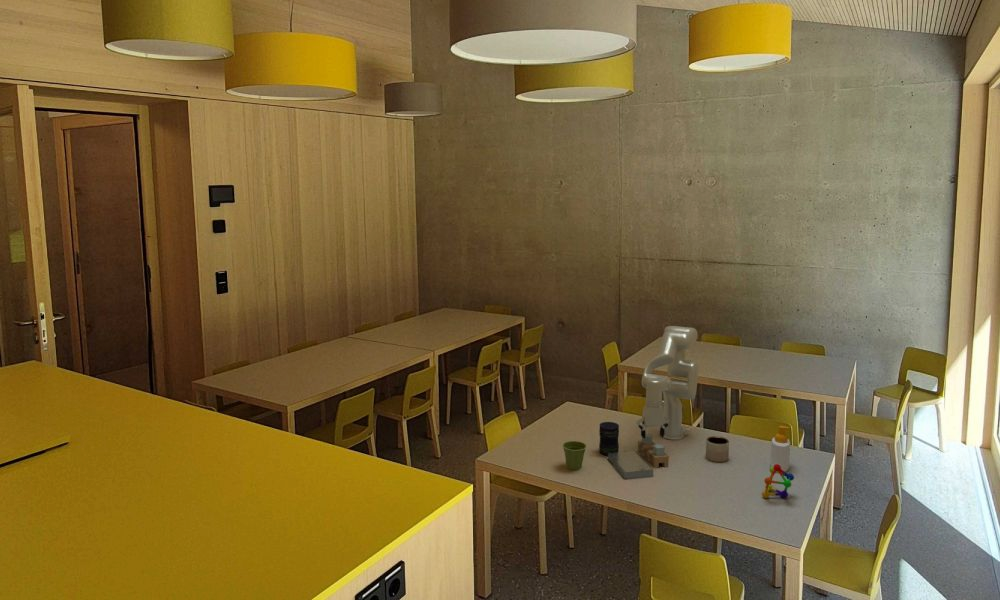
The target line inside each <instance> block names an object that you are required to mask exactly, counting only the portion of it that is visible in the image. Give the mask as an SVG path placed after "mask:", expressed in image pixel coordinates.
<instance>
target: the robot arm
mask: <svg viewBox="0 0 1000 600" xmlns="http://www.w3.org/2000/svg"><path fill="white" fill-rule="evenodd" d="M698 335H699V334H698V330H697V329H696V328H695V327H687V326H678V325H668V326H666V327H665V328H664V331H663V334H662V338H661V341H660V346H659V349H658V352H657V355H656V356H655V357H653V358H652V359H651V360H650V361H648V362H647V364H645V367H644V370H643V373H642V376H641V385H642V387H643V388H644V389H645V405H643V409H642V417H641V418H639V419H638V420H636V421H635V423H636V426H637V427H638V428H639V429H640V436H641V438H642V437H643V438H644V439H645V434H646V429H647V428H651V427H660V428H659V436H660V437H661V438H663V439H666V440H672V441H676V440H677V441H678V440H679V441H680V440H682V439H683V438H684V437H685V433H691V429H690V428H689V427H688V428H686V427H682V421H683V418H682V416H683V404H682V402H681V399H685V400H694V399H695V397H696V395H697V390H698V388H697V387H698V378H699V365H698V363H697V362H696V361H694V360H688V359H686V352H687V351H686V350H688V349H690V348H691V347H692V346H694V344H695V343H697V340H698ZM666 365H667V374H668V375H669V376H667V375H660V374H654V373H653V371H654V370H656V369H658V368H660V367H664V366H666ZM670 376H671V377H676V379H675V378H670ZM677 378H682V379H677ZM683 378H684V379H687V380H683ZM662 397H663V399H662ZM641 424H642V425H641Z"/></svg>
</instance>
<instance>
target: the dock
mask: <svg viewBox="0 0 1000 600" xmlns="http://www.w3.org/2000/svg"><path fill="white" fill-rule="evenodd" d="M607 460H608V461H609V462H610V464H612V466H613V467H614V468H615V469H616V471H617V472H618V473H619V475H620V476H621V477H622V478H623V479H624V480H629V479H630V480H631V479H641V478H650V477H654V469H653V468H651V466H650V465H649V464H648V463H647V462H646V461H645V460H644V459H643V458H642V456H640V455H639V454H638V453H637V452H636V451H635V450H629V451H618V452H616V453H608V457H607Z"/></svg>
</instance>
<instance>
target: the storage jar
mask: <svg viewBox="0 0 1000 600" xmlns="http://www.w3.org/2000/svg"><path fill="white" fill-rule="evenodd" d="M619 427H620V424H618V423H617V422H613V421H604V422H600V423H599V430H598V432H599V434H598V435H599V445H598V446H599V447H598V448H599V455H600V454H601V455H600V456H602V455H603V457H607V458H608V453H616V452H619V448H620V446H619V436H620V435H619V434H620V428H619Z"/></svg>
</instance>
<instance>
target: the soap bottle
mask: <svg viewBox="0 0 1000 600" xmlns="http://www.w3.org/2000/svg"><path fill="white" fill-rule="evenodd" d="M785 430H791V427H790V426H786V425H779V426H778V433H776V434H775V435H774V437H772V439H771V448H770V449H771V451H770V468H771V467H774V465H775V464H779V465H780V466H781V469H782V470H783V471H784V472H787V471H789V469H790V453H791V442H790V440H789V438H788V436H787V434H785Z"/></svg>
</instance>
